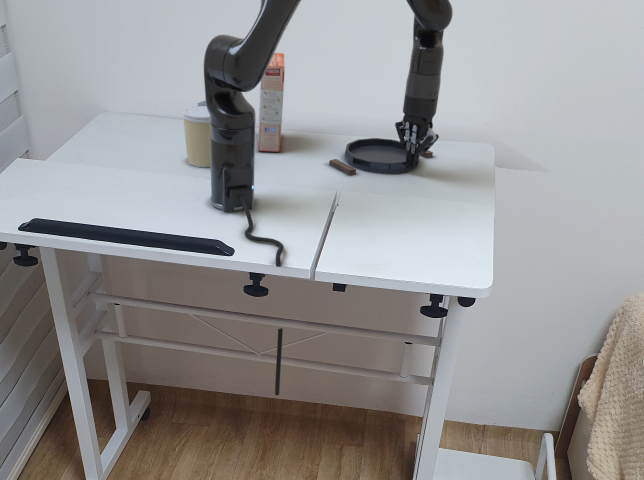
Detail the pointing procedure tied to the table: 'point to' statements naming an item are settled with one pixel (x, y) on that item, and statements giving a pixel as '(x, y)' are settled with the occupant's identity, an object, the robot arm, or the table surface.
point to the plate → (377, 155)
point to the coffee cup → (197, 136)
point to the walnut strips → (351, 170)
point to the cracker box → (271, 105)
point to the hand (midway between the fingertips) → (411, 167)
